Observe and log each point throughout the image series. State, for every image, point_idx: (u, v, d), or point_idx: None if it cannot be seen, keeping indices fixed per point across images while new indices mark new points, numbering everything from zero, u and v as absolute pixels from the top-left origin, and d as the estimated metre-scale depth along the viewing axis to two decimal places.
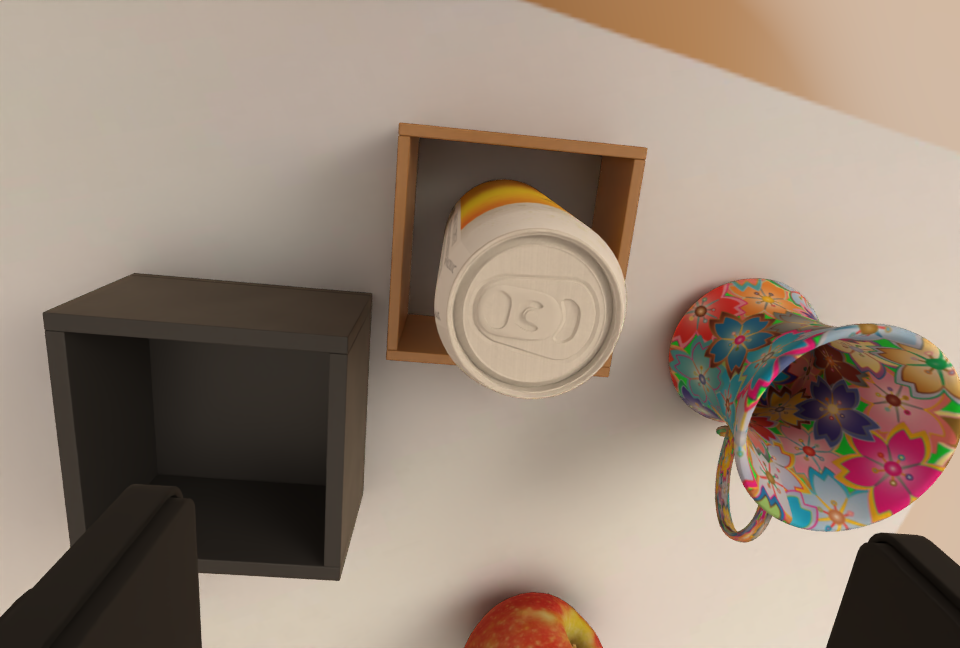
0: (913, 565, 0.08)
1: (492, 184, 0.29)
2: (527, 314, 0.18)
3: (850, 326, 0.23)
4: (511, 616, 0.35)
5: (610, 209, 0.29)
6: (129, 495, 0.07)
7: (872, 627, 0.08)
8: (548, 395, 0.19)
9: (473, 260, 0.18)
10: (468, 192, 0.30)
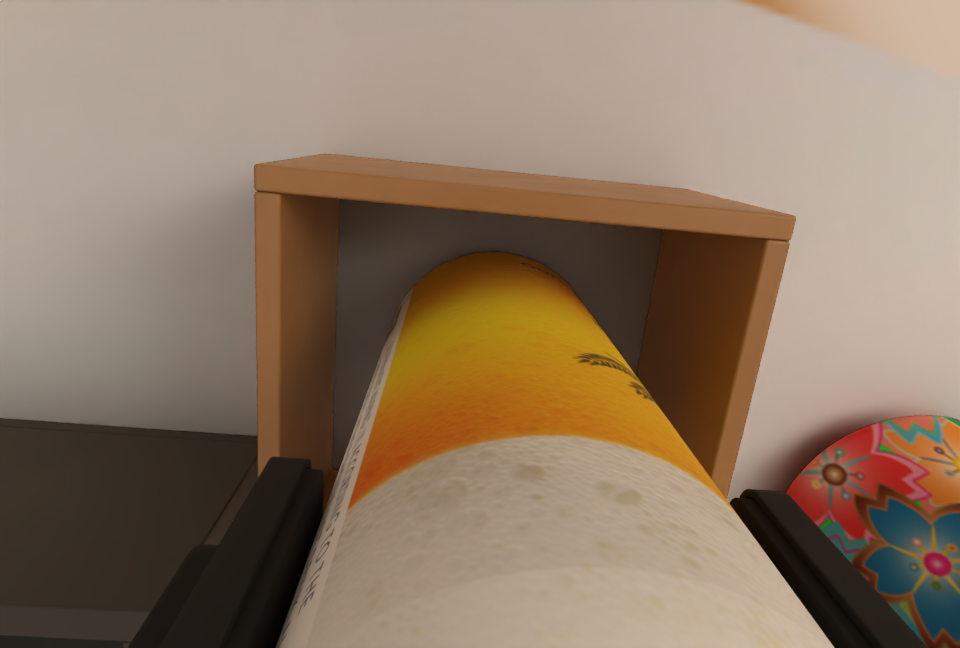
0: (767, 515, 0.08)
1: (468, 272, 0.15)
2: None
3: None
4: None
5: (694, 319, 0.15)
6: (273, 465, 0.08)
7: None
8: None
9: None
10: (427, 278, 0.17)
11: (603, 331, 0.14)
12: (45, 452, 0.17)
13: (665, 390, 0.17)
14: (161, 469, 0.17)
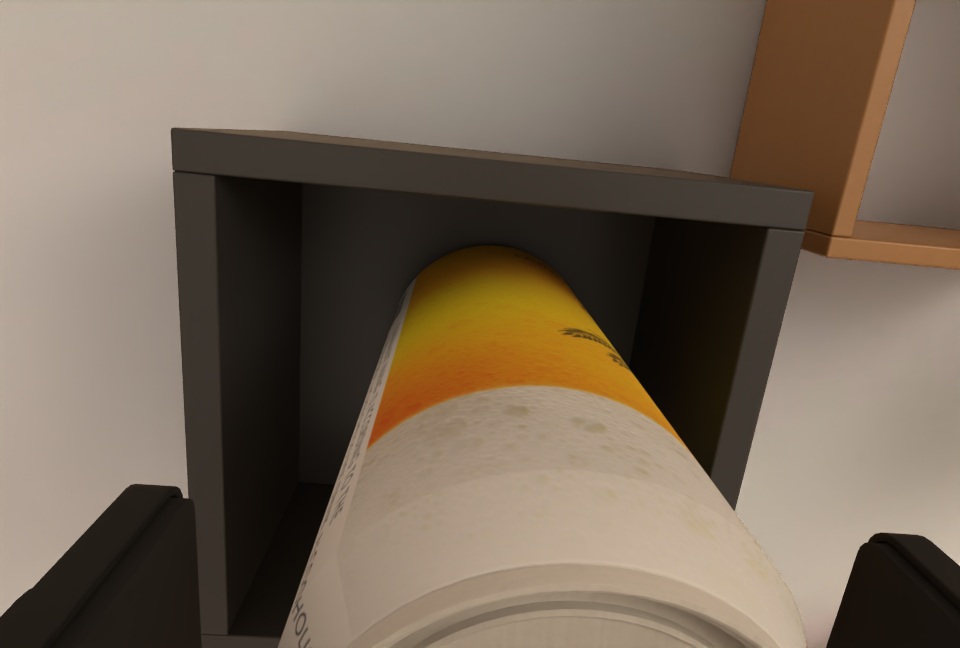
0: (913, 565, 0.08)
1: (467, 262, 0.16)
2: None
3: None
4: None
5: None
6: (129, 495, 0.07)
7: (872, 627, 0.08)
8: None
9: None
10: (428, 268, 0.18)
11: (589, 315, 0.15)
12: (507, 154, 0.17)
13: None
14: (631, 167, 0.17)
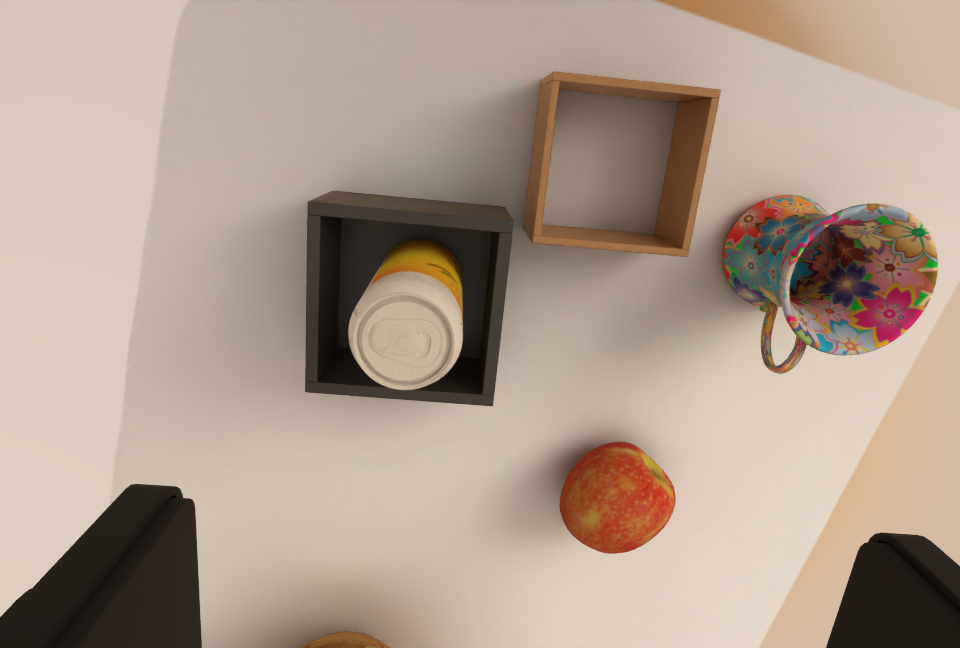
0: (913, 565, 0.08)
1: (407, 245, 0.42)
2: (400, 341, 0.31)
3: (860, 205, 0.35)
4: (603, 452, 0.47)
5: (689, 138, 0.40)
6: (129, 495, 0.07)
7: (872, 627, 0.08)
8: (414, 387, 0.32)
9: (366, 310, 0.31)
10: (394, 248, 0.44)
11: (452, 264, 0.41)
12: (425, 202, 0.43)
13: (677, 173, 0.42)
14: (474, 207, 0.43)
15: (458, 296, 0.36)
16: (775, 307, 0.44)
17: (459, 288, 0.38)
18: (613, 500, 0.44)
